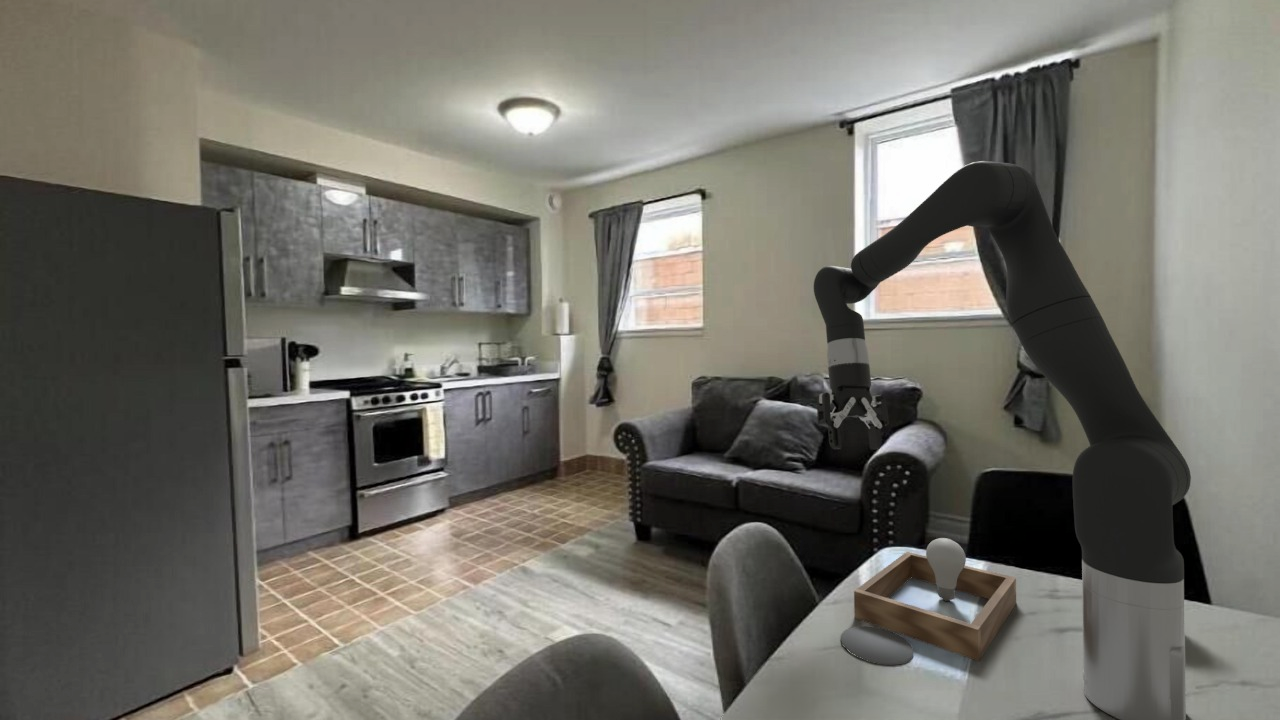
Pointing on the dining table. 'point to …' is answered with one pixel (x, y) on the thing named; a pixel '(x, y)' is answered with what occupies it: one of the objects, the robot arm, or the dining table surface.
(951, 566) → the lightbulb
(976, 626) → the shallow wooden tray
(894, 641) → the mat
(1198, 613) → the dining table surface
